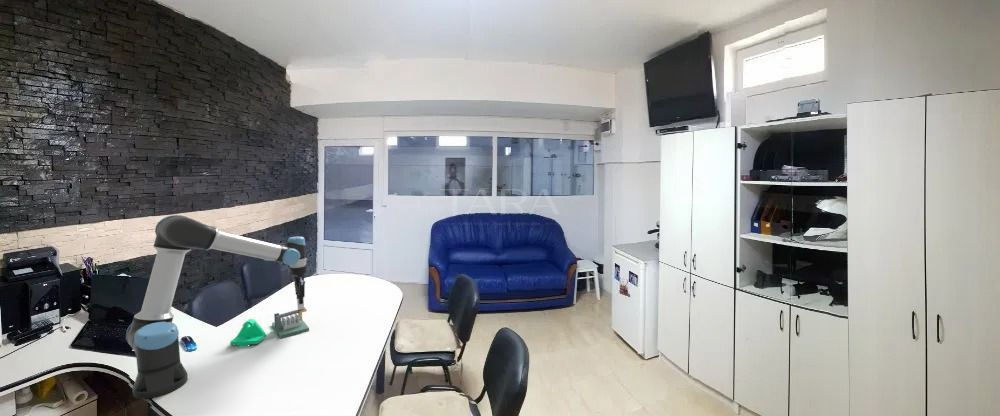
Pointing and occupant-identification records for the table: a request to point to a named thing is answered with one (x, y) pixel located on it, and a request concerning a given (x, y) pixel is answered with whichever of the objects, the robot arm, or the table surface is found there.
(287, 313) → the grey lever handle
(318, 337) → the table surface
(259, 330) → the camera mount
